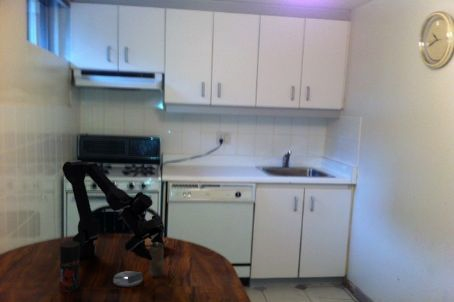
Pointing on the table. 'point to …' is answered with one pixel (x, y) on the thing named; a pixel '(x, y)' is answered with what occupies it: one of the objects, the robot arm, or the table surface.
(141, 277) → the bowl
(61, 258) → the deodorant
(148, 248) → the pie
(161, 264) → the brown cylinder
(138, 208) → the robot arm
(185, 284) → the table surface
